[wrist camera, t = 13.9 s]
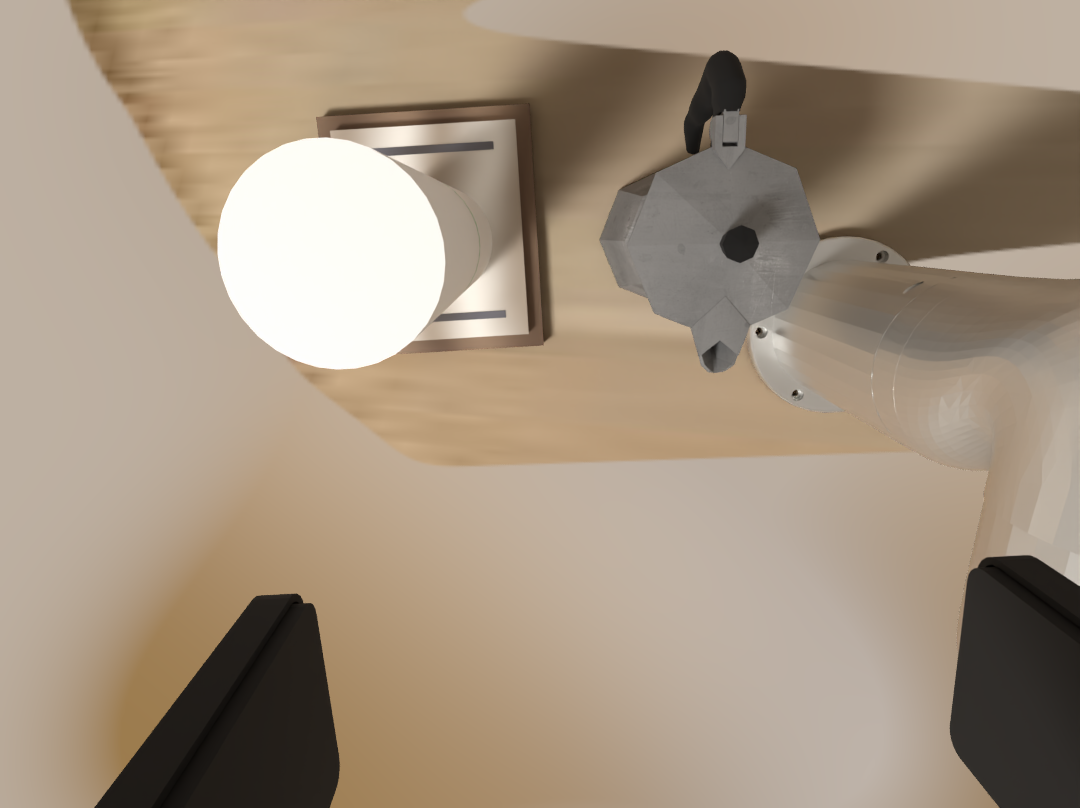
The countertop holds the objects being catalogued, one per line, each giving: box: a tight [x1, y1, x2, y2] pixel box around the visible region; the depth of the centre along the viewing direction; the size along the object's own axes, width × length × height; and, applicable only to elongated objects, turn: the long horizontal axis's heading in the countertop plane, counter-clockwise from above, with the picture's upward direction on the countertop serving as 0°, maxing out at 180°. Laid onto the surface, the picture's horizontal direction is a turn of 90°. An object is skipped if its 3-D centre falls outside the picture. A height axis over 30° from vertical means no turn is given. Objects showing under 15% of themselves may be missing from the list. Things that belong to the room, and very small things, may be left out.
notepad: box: [316, 104, 544, 354], centre depth 46 cm, size 14×16×2 cm
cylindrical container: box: [218, 137, 492, 369], centre depth 33 cm, size 7×7×25 cm
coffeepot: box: [600, 51, 820, 373], centre depth 38 cm, size 15×9×18 cm, turn 2°
